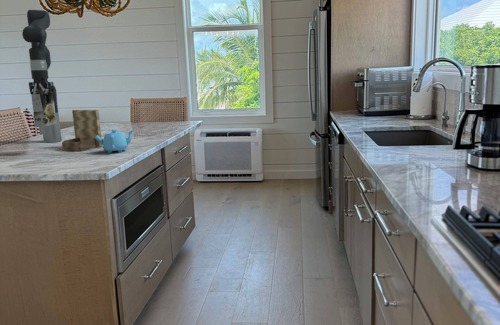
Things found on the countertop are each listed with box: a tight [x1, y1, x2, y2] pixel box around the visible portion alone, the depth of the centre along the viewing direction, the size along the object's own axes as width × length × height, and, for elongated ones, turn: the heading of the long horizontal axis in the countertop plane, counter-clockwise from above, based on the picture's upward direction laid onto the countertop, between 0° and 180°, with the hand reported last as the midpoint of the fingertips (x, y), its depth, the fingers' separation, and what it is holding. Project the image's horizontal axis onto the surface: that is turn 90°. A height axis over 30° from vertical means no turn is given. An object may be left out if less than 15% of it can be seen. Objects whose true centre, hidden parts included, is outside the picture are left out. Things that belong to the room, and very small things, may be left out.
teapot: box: [95, 129, 135, 154], centre depth 221 cm, size 15×14×11 cm
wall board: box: [71, 109, 103, 148], centre depth 237 cm, size 16×2×20 cm, turn 69°
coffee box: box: [30, 93, 57, 127], centre depth 221 cm, size 9×6×16 cm
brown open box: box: [61, 137, 98, 152], centre depth 233 cm, size 12×12×5 cm
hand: (43, 102), depth 220 cm, fingers closed on coffee box, 7 cm apart
